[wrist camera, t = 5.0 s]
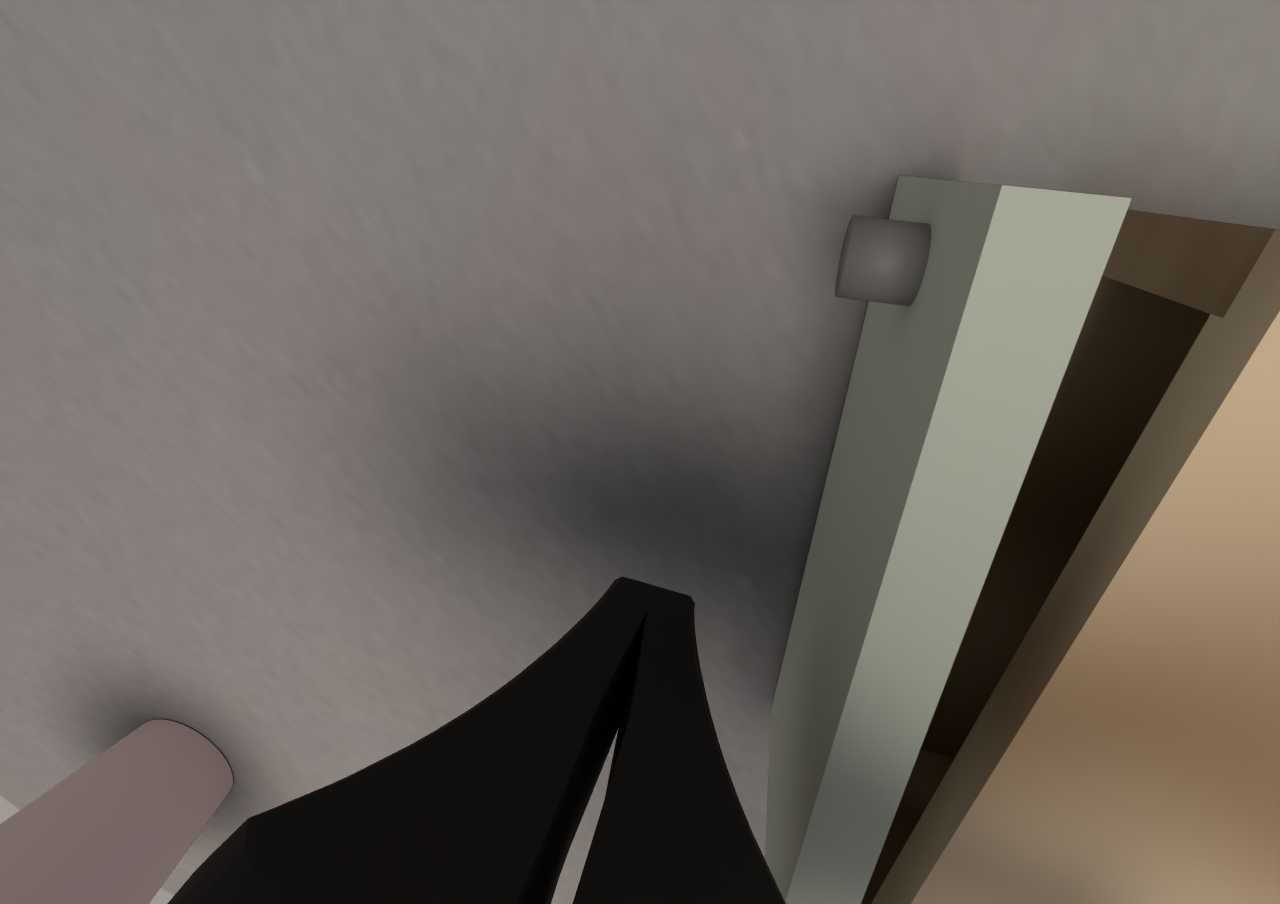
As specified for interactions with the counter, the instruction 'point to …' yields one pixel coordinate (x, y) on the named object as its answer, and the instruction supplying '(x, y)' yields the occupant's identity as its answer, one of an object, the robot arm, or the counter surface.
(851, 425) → the door
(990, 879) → the wooden box
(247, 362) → the counter surface
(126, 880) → the smoothie
